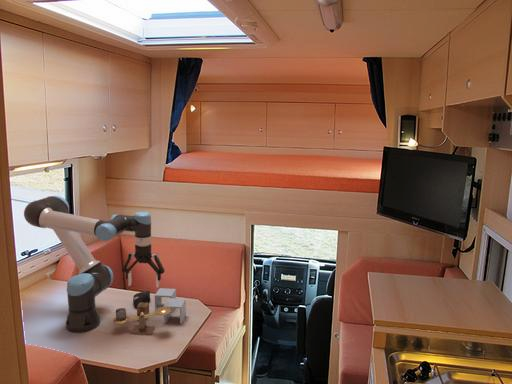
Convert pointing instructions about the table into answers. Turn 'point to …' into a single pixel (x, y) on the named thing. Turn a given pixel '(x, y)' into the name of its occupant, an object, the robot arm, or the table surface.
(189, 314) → the table surface
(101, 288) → the robot arm
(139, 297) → the rock
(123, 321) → the balance
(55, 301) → the table surface
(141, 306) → the block
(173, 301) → the cover
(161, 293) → the cover
